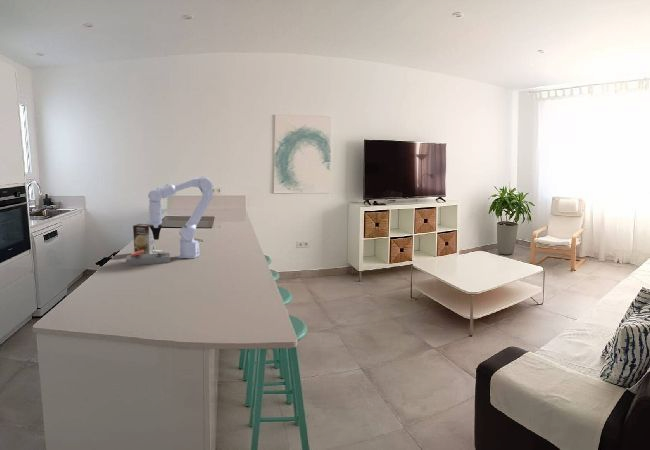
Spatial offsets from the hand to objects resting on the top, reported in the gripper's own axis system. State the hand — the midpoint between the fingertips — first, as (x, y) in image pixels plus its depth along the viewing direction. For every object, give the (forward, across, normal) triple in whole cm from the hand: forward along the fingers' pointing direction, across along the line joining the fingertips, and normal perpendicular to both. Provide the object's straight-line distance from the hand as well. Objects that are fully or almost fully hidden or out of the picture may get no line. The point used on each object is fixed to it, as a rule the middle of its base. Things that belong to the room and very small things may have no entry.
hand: (156, 239), depth 207 cm
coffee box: (+11, -15, -6) cm, 19 cm away
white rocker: (+6, +2, +1) cm, 7 cm away
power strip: (+10, +5, -4) cm, 12 cm away
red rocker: (+6, +2, -9) cm, 11 cm away
